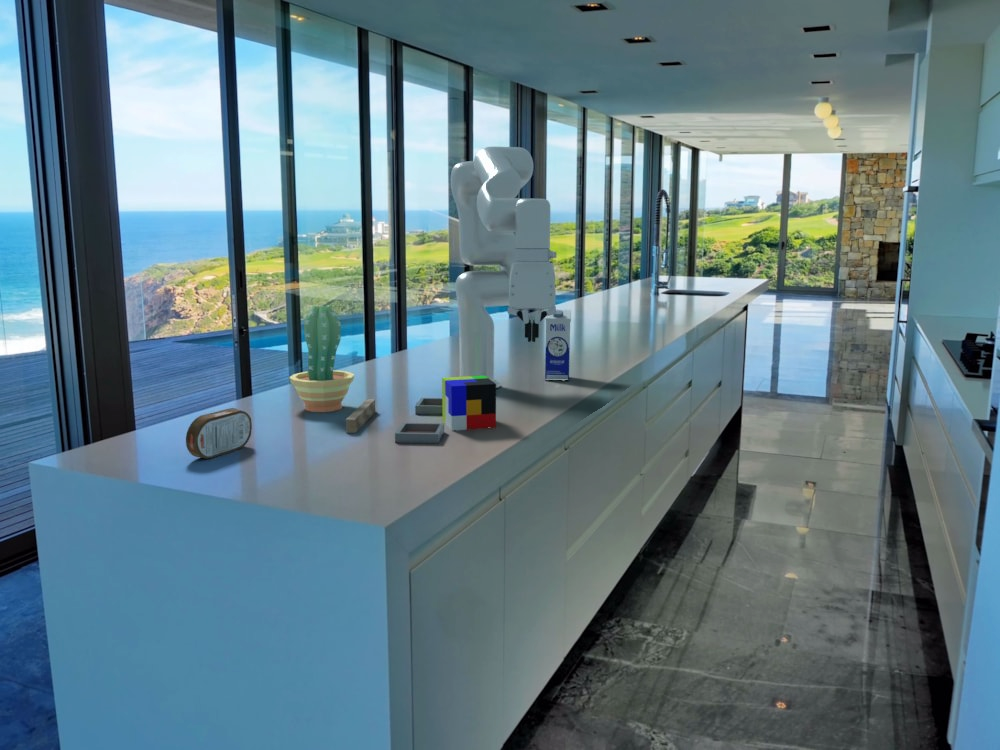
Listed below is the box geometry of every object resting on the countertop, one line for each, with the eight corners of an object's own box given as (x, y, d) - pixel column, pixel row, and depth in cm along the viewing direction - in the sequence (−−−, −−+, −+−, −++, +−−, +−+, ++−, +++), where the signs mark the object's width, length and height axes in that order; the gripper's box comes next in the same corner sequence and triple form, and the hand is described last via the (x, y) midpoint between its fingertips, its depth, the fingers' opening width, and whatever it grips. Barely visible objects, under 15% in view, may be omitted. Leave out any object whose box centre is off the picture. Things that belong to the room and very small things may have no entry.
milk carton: (569, 377, 239) (571, 308, 235) (569, 381, 232) (570, 311, 228) (545, 376, 239) (546, 308, 235) (544, 381, 233) (545, 311, 229)
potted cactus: (365, 403, 204) (363, 303, 200) (337, 417, 190) (333, 310, 185) (310, 399, 208) (306, 301, 204) (278, 412, 194) (273, 307, 189)
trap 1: (403, 431, 177) (402, 422, 177) (444, 432, 176) (444, 423, 176) (395, 442, 168) (394, 433, 168) (438, 443, 168) (438, 434, 167)
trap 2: (421, 405, 202) (421, 397, 201) (457, 406, 201) (457, 398, 201) (415, 414, 193) (415, 406, 192) (453, 414, 192) (453, 406, 192)
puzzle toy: (451, 431, 178) (451, 386, 176) (442, 420, 187) (442, 377, 186) (495, 428, 181) (496, 383, 179) (484, 417, 190) (484, 375, 188)
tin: (244, 443, 168) (242, 403, 166) (255, 445, 166) (253, 405, 165) (185, 462, 155) (182, 419, 153) (197, 464, 153) (194, 421, 152)
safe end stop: (367, 411, 195) (366, 399, 195) (375, 411, 195) (375, 399, 195) (346, 432, 176) (345, 419, 175) (355, 433, 176) (355, 419, 175)
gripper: (566, 256, 179) (565, 339, 183) (499, 256, 180) (498, 338, 184) (567, 257, 172) (566, 344, 175) (496, 257, 173) (496, 343, 176)
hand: (531, 340), depth 180 cm, fingers closed
